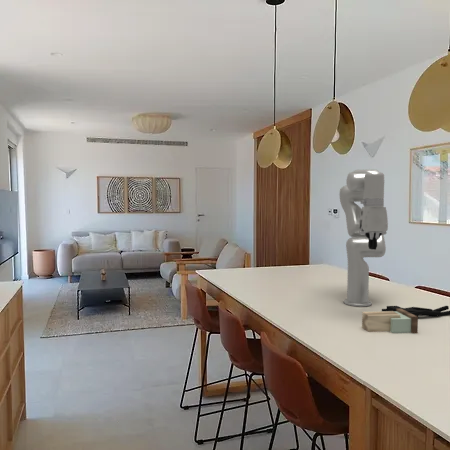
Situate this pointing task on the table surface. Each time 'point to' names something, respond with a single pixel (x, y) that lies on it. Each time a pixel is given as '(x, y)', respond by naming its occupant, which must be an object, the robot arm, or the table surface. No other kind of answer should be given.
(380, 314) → the beige wooden brick
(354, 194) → the robot arm
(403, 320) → the block
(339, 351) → the table surface
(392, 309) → the toy
